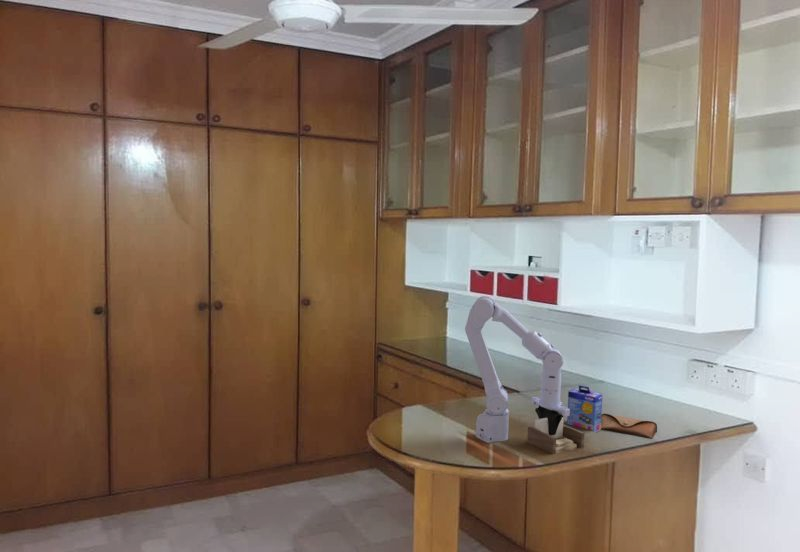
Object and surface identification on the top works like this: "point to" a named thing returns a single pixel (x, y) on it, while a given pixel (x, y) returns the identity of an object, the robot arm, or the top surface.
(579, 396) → the ink cartridge box
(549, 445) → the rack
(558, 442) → the offcut upper
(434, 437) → the top surface
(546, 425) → the board
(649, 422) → the sunglasses case
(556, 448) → the offcut lower
